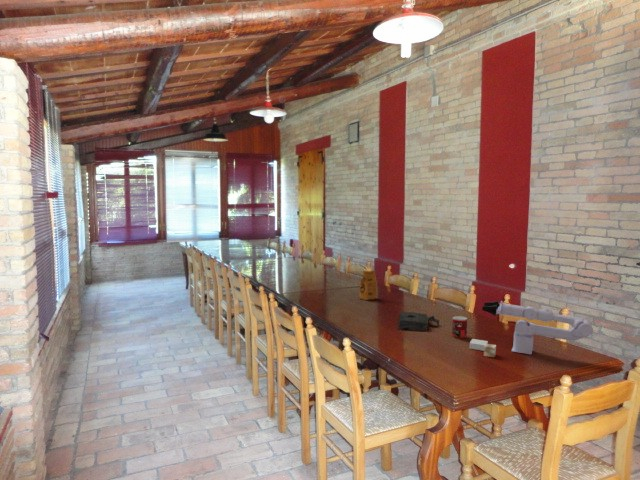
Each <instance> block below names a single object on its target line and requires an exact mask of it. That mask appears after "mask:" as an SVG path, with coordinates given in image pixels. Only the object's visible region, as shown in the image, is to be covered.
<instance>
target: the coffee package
mask: <svg viewBox="0 0 640 480" xmlns="http://www.w3.org/2000/svg"><path fill="white" fill-rule="evenodd" d="M362 273H363V275H362V278H361V279H360V282H359V295H358V296H359V299H361V300H363V301H369V300H372V301H373V300H375V299H377V288H378V283H377V275H376V272H375V269H372V270H363V271H362Z"/></svg>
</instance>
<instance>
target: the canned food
mask: <svg viewBox="0 0 640 480" xmlns="http://www.w3.org/2000/svg"><path fill="white" fill-rule="evenodd" d="M451 328H452V330H451V336H452V338H456V339H466V338H467V334H468V317H466V316H462V315H459V316H458V315H454V316H453V317H452V326H451Z"/></svg>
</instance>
